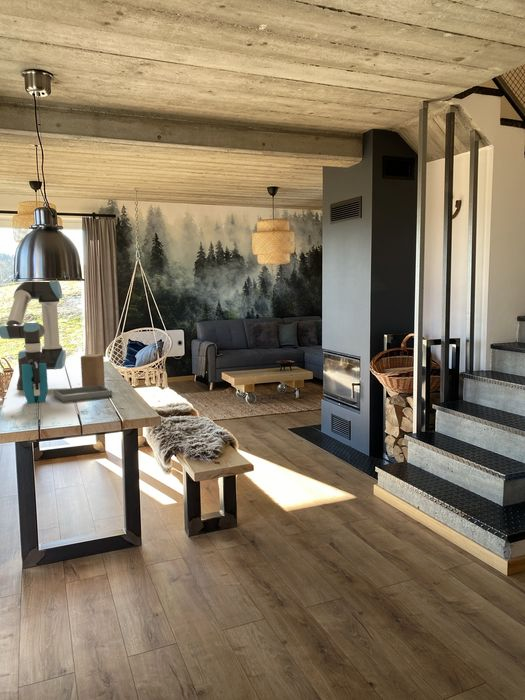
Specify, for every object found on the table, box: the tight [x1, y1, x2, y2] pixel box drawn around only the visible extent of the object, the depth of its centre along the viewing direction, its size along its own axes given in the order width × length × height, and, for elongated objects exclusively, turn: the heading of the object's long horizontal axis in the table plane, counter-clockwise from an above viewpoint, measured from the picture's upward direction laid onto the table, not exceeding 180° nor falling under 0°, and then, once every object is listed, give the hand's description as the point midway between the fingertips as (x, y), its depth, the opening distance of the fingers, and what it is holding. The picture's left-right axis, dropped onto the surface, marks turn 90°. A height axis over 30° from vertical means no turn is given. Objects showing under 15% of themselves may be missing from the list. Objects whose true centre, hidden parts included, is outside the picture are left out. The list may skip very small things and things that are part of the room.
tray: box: [53, 385, 113, 404], centre depth 308 cm, size 20×26×4 cm
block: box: [22, 363, 49, 404], centre depth 295 cm, size 12×5×20 cm, turn 115°
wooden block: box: [80, 353, 106, 387], centre depth 330 cm, size 10×10×20 cm
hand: (35, 394), depth 296 cm, fingers closed on block, 5 cm apart
